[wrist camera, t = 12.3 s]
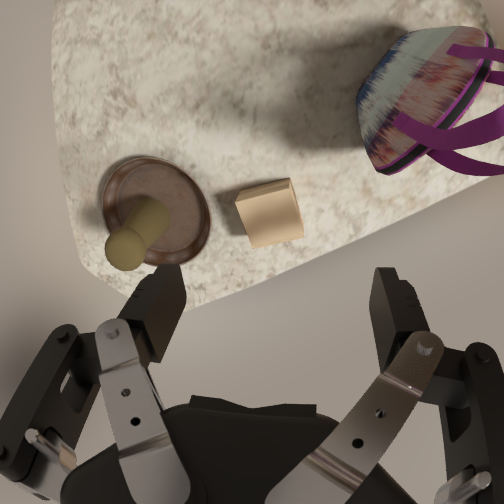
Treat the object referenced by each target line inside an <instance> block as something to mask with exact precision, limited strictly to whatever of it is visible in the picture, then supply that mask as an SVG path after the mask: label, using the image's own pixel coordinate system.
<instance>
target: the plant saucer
mask: <svg viewBox="0 0 504 504" xmlns="http://www.w3.org/2000/svg"><path fill="white" fill-rule="evenodd" d="M145 198H153V199H156V200H158V201H160V202H161V203H163V204H164V205H165V206H166V208H167V209H168V211H169V214H170V217H171V223H170V226H169V229H168V230H167V231H166V232H165V233H164V234H163V235H162V236H161V237H160V238H159V239H158V240H157V241H156V242H155V243H154V244H152V245H151V246H150V247H149V248H148V249H147V250H146V256H145V259H144V261H143V263H145V264H148V265H151V266H156V267H158V266H159V264H160V263H178V264H179V265H183V264H186V263H188V262H190V261H191V260H193V259H194V258H196V257H197V256H198V255H199V254H200V253H201V252H202V251H203V249H204V248H205V246H206V244H207V242H208V240H209V237H210V233H211V227H212V217H211V211H210V206H209V203H208V200H207V198H206V196H205V194H204V192H203V190H202V189H201V187H200V186H199V184H198V183H197V182H196V181H195V179H194V178H193V177H192V176H191V175H190V174H189V173H187V172H186V171H185V170H183V169H182V168H180V167H179V166H177V165H176V164H173V163H171V162H169V161H167V160H164V159H160V158H154V157H141V158H135V159H132V160H129V161H127V162H125V163H123V164H122V165H120V166H119V167H117V168H116V169H115V170H114V171H113V172H112V174H111V175H110V176H109V178H108V180H107V181H106V183H105V186H104V189H103V193H102V200H101V207H102V215H103V219H104V222H105V225H106V227H107V229H108V231H109V233H110V235H111V234H112V233H113V232H114V231H116V230H118V229H121V227H122V225H123V224H124V222H125V220H126V219H127V217H128V215H129V214H130V212H131V210H132V209H133V207H134V206H135V204H136V203H137V202H138V201H140V200H141V199H145Z"/></svg>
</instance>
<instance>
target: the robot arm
mask: <svg viewBox="0 0 504 504" xmlns="http://www.w3.org/2000/svg"><path fill="white" fill-rule="evenodd" d="M186 297H187V296H186V290H185V285H184V281H183V277H182V273H181V268H180V265H179V264H178V263H160V264H159V266H158V267H157V269H156V270H155V272H154V273H153V274H149V275H147V276H146V277H145V278H144V279H142V280H141V281H140V282H139V284H138V286H137V287H136V289H135V290H134V292H133V293H132V295H131V297H130V298H129V299H128V301H127V302H126V304H125V306H124V307H123V309H122V310H121V312H120V314H119V315H118V317H117V318H116V319H110V320H107V321H105V322H104V323H102V324H101V325H100V326H99V327H98V328H97V330H96V332H92V333H84V334H80V333H79V332H78V330H77V328H76V327H75V326H74V325H71V324H65V325H62V326H59V327H57V328H56V329H55V330H54V331H53V332H52V333H51V334H50V335H49V337H48V339H47V340H46V342H45V343H44V345H43V346H42V348H41V350H40V351H39V353H38V354H37V356H36V358H35V359H34V361H33V363H32V364H31V366H30V367H29V369H28V371H27V373H26V374H25V376H24V378H23V379H22V381H21V383H20V385H19V386H18V388H17V390H16V392H15V393H14V395H13V397H12V399H11V401H10V403H9V405H8V406H7V408H6V410H5V412H4V414H3V416H2V418H1V420H0V474H2V475H3V476H5V477H6V478H7V479H8V480H9V481H11V482H12V483H14V484H15V485H17V486H18V487H20V488H22V489H23V490H25V491H27V492H29V493H32V494H33V495H35V496H37V497H38V498H40V499H42V500H53V501H55V502H57V503H59V504H417V503H416V502H415V501H414V500H413V499H412V498H411V497H410V495H409V494H408V493H407V492H406V491H405V490H404V489H403V488H402V487H401V486H400V485H399V484H398V483H397V482H396V481H395V480H394V479H393V478H392V477H391V476H390V475H389V474H388V472H386V470H385V469H383V467H382V466H381V465H380V464H379V463H378V461H379V460H380V458H381V457H382V456H383V454H384V453H385V452H386V450H387V449H388V447H389V446H390V444H391V443H392V441H393V440H394V439H395V437H396V436H397V434H398V432H399V431H400V430H401V428H402V427H403V425H404V423H405V422H406V420H407V419H408V417H409V415H410V414H411V412H412V410H413V409H414V407H415V406H416V404H417V402H418V401H420V402H424V403H429V404H435V405H438V406H439V412H440V418H441V425H442V433H443V441H444V450H445V460H446V471H447V482H446V483H445V484H444V485H442V486H441V487H440V488H439V490H438V491H437V493H436V496H435V500H434V504H504V373H503V370H502V367H501V364H500V361H499V359H498V356H497V354H496V352H495V351H494V349H493V348H491V347H490V346H489V345H487V344H485V343H480V342H476V343H472V344H470V345H469V346H468V347H467V349H466V350H465V351H460V350H455V349H451V348H447V347H445V346H444V344H443V342H442V340H441V339H440V338H439V337H438V336H437V335H436V334H434V333H431V332H430V329H429V326H428V323H427V321H426V318H425V315H424V312H423V310H422V307H421V306H420V305H421V304H420V302H419V300H418V298H417V294H416V292H415V289H414V287H412V285H411V284H410V283H409V282H408V281H407V280H399V278H398V275H397V272H396V270H395V268H389V267H387V268H386V267H383V268H382V267H381V268H380V267H377V268H376V269H375V273H374V278H373V284H372V290H371V295H370V301H369V310H370V316H371V321H372V326H373V331H374V337H375V343H376V348H377V354H378V360H379V366H380V374H379V375H378V376H377V378H376V379H375V380H374V382H373V383H372V384H371V386H370V387H369V388H368V390H367V391H366V392H365V393H364V395H363V396H362V397H361V399H360V400H359V401H358V402H357V403H356V405H355V406H354V407H353V409H351V411H350V412H349V413H348V414H347V415H346V417H345V418H344V419H343V420H342V421H341V423H339V422H338V421H336V420H334V419H332V418H330V417H328V416H325V415H321V414H318V413H316V404H280V405H274V406H267V407H260V408H247V407H244V406H241V405H238V404H235V403H232V402H229V401H226V400H223V399H220V398H211V397H202V396H195V395H192V396H191V399H190V402H189V403H188V404H181V405H177V406H174V407H171V408H168V409H166V410H165V408H164V406H163V403H162V401H161V399H160V396H159V394H158V392H157V389H156V387H155V384H154V382H153V379H152V377H151V374H150V372H149V370H148V366H149V363H150V362H155V363H161V360H162V358H163V356H164V353H165V351H166V349H167V346H168V344H169V342H170V340H171V337H172V335H173V333H174V330H175V328H176V326H177V323H178V321H179V319H180V317H181V314H182V312H183V310H184V308H185V305H186ZM67 372H68V373H69V375H70V377H69V379H68V381H67V383H66V385H65V387H64V389H63V391H62V393H61V392H60V387H61V384H62V382H63V380H64V378H65V376H66V374H67ZM100 387H101V389H102V393H103V397H104V401H105V405H106V408H107V412H108V416H109V420H110V423H111V427H112V430H113V434H114V437H115V440H116V443H114V444H113V445H111V446H110V447H108V448H107V449H105V450H103V451H102V452H100V453H99V454H97V455H96V456H94V457H92V458H91V459H89V460H87V461H86V462H84V463H83V464H81V465H79V466H77V465H76V462H77V459H76V454H75V452H74V450H75V447H76V444H77V442H78V439H79V437H80V434H81V432H82V429H83V427H84V424H85V422H86V420H87V417H88V415H89V412H90V410H91V408H92V405H93V403H94V400H95V398H96V396H97V394H98V392H99V389H100Z"/></svg>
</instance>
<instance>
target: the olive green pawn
mask: <svg viewBox="0 0 504 504" xmlns="http://www.w3.org/2000/svg"><path fill="white" fill-rule="evenodd" d="M170 223H171V217H170V214H169V211H168V209H167V208H166V206H165V205H164V204H163V203H161V202H160V201H158V200H156V199H153V198H145V199H141V200H140V201H138V202H137V203H136V204H135V206H134V207H133V209H132V210H131V212H130V214H129V215H128V217H127V219H126V220H125V222H124V224H123V225H122V227H121V229H118V230H116V231H114V232H113V233H112V234H111V235H110V236H109V237H108V239H107V240H106V243H105V255H106V257H107V260H108V261H109V263H110V264H111V265H112V266H114V267H115V268H116V269H119V270H121V271H132V270H134V269H136V268H138V267H139V266H140V265H141V264H142V263H143V261H144V259H145V256H146V250H147V249H148V248H149V247H150V246H151V245H152V244H154V243H155V242H156V241H157V240H158V239H159V238H160V237H161V236H162V235H163V234H164V233H165V232H166V231H167V230H168V229H169V226H170Z"/></svg>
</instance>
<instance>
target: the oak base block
mask: <svg viewBox="0 0 504 504" xmlns="http://www.w3.org/2000/svg"><path fill="white" fill-rule="evenodd" d="M235 204H236V207H237V209H238V212H239V214H240V217H241V219H242V222H243V225H244V227H245V230H246V232H247V235H248V237H249V240H250V243H251V245H252V248H253V249H255V248H260V247H264V246H269V245H273V244H277V243H282V242H286V241H291V240H295V239H300V238H304V222H303V219H302V216H301V212H300V209H299V206H298V202H297V199H296V196H295V192H294V189H293V186H292V183H291V179H290V178H287V179H283V180H279V181H275V182H272V183H268V184H264V185H260V186H257V187H253V188H249V189H246V190H242V191H240V193H239V195H238V197H237V199H236V201H235Z"/></svg>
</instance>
